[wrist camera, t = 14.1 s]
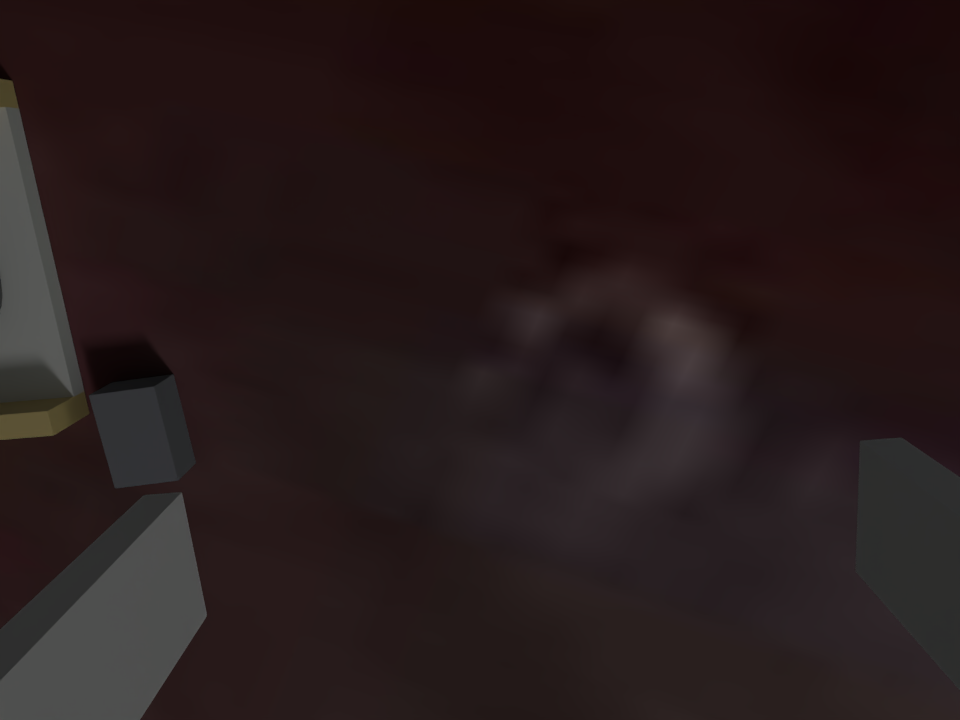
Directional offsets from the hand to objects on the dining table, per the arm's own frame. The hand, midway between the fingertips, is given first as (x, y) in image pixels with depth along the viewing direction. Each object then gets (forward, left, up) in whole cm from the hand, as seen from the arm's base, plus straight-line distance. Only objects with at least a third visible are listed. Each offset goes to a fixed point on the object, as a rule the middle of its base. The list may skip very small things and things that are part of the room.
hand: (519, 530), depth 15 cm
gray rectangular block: (+7, -23, -32) cm, 40 cm away
